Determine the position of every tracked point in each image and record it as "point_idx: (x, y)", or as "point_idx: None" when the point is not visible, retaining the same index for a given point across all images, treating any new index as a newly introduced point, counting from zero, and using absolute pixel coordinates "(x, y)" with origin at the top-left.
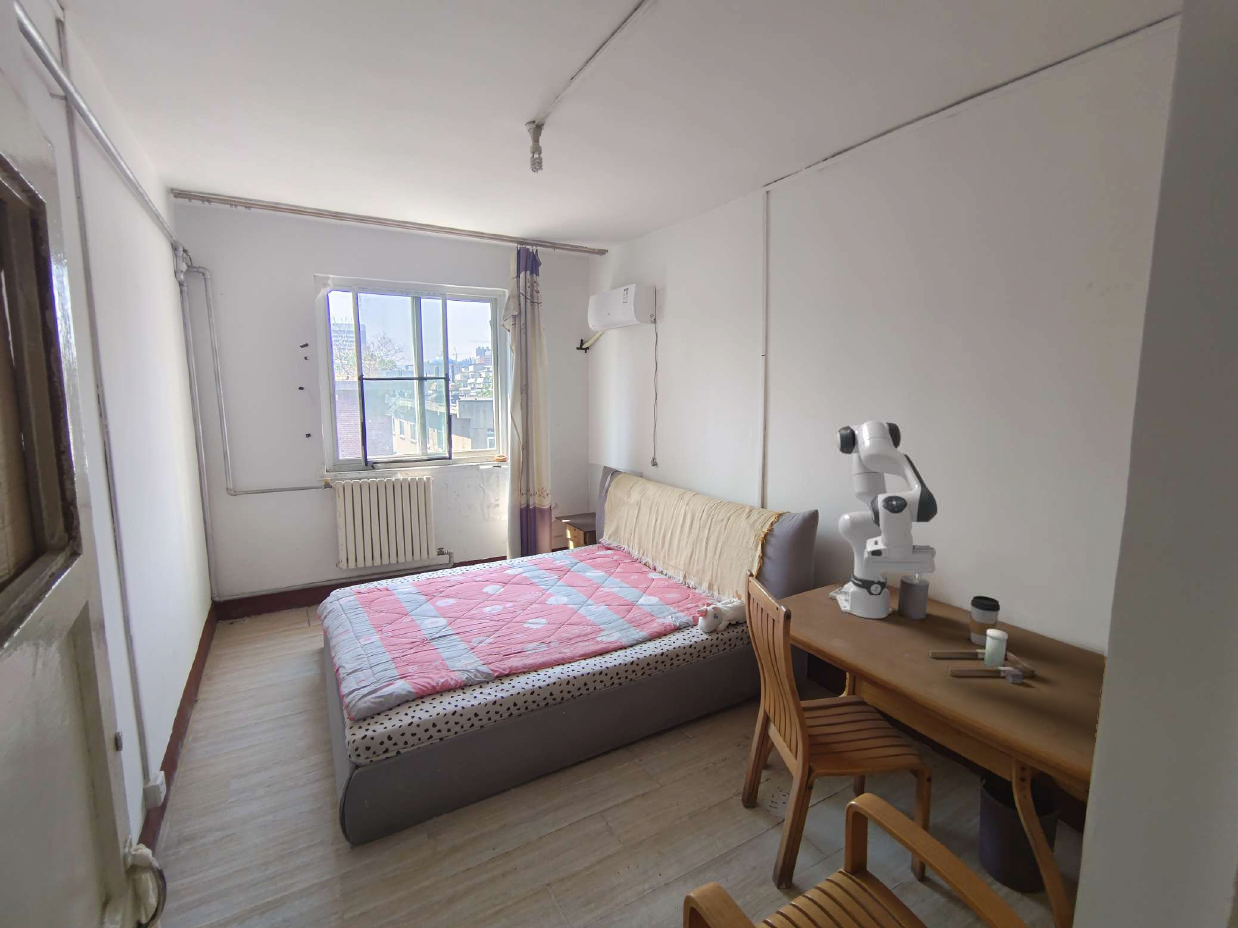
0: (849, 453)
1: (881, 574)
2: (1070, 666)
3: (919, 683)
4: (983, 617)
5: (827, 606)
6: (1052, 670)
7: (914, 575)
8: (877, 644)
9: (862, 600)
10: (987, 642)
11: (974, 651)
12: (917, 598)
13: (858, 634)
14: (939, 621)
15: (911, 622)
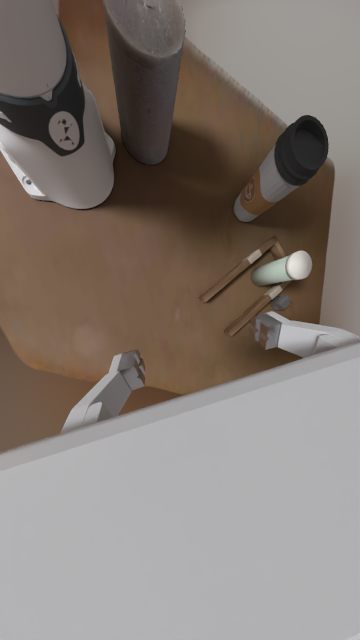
0: None
1: (118, 384)
2: (315, 227)
3: (205, 377)
4: (280, 195)
5: None
6: (302, 250)
7: (274, 328)
8: (137, 307)
9: (54, 174)
10: (277, 275)
11: (246, 264)
12: (161, 115)
13: (101, 290)
14: (189, 155)
15: (155, 185)
